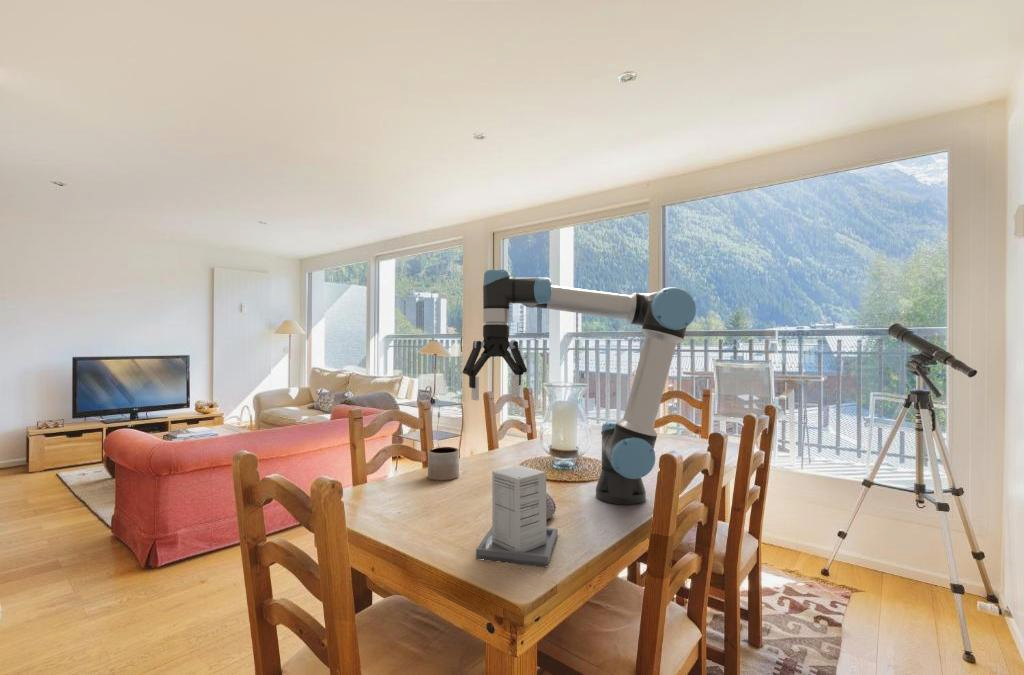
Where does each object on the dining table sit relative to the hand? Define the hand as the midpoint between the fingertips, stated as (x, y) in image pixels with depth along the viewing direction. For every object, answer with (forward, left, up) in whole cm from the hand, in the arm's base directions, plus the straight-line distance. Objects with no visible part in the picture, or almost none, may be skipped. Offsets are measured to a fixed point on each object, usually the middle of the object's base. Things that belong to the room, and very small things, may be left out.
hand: (495, 398), depth 141 cm
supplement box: (-12, +24, -31) cm, 41 cm away
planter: (+26, -28, -32) cm, 50 cm away
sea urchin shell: (-11, +3, -32) cm, 34 cm away
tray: (-12, +24, -32) cm, 42 cm away
